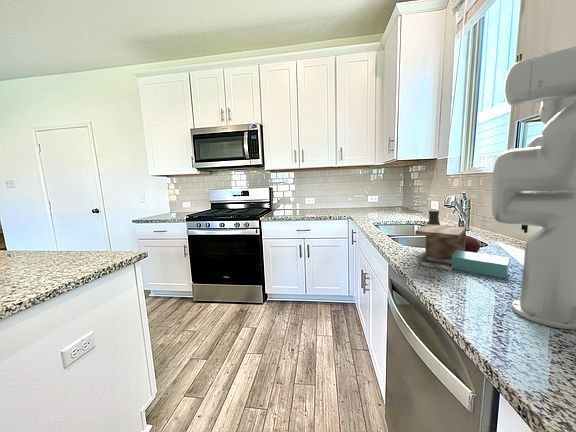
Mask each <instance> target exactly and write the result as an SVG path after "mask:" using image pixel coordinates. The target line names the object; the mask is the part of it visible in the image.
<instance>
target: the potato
mask: <svg viewBox="0 0 576 432" xmlns="http://www.w3.org/2000/svg"><path fill="white" fill-rule="evenodd" d="M480 249H481V245H480V242H479V241H478V240H477V239H476V238H474V237H472V236H470V235H466V240H465V251H466V252H473V253H479V251H480Z"/></svg>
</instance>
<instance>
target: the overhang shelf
mask: <svg viewBox="0 0 576 432" xmlns="http://www.w3.org/2000/svg"><path fill="white" fill-rule="evenodd" d="M414 234H415V236H416V235H417V236H424V237H425V241H426V249H425V251H424V252H423V253H422V254H421V255H420V256H418V265H419V266H423V267H424V266H426V267H429V268H436V269H441V270H447V271H453V267H452V266H450V264H451V265H452V255H453V254H454V252H455V251H456V250H459V251H465V240H466V236H467V226H458V225H457V226H456V225H447V224H445V225H444V224H440V225H433V224H427V223H426V224H425V225H424V226H421V227H420V228H417V229H416V230H415V233H414ZM426 261H431V262H426ZM433 262H439V263H445V264H449V265H443V264H439V263H433Z"/></svg>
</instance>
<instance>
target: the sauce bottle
mask: <svg viewBox="0 0 576 432" xmlns="http://www.w3.org/2000/svg"><path fill="white" fill-rule="evenodd" d="M428 214H429V215H428V221H427V223H426V225H427V224H433V225H441V223H440V221H439V215H440V210H435V209H433V210H428ZM424 243H425V245H424V246H425V247H424V248H425V250H426V240H425V242H424Z"/></svg>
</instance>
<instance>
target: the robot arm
mask: <svg viewBox="0 0 576 432" xmlns="http://www.w3.org/2000/svg"><path fill="white" fill-rule="evenodd" d="M503 93H504V94H503V95H504V98H505V101H506V103H507V104H508V105H509V106H510V107H519V106H524V105H525V106H526V105H530V104H531V105H532V104H536V103H541V104H540V108H539V119H540V121H541V122H542V123H543V125H545V126H544V127H543V129H542V133H541V134H540V135H537V136H535V137H533V138H532V139H531V140H530V141H529V142H528V144H527V147H524V148H514V149H509V150H506V151H504V152H502V153H501V154H499V156H498V157H497V158H496V161H495V163H494V166H493V170H492V171H493V172H492V185H491V186H492V187H491V188H492V189H491V213H492V217H493V219H494V220H495V221H496V222H498V223H501V224H507V225H519V226H520V225H521V228H520V229H521V230H522V231H523V232H524V234H528V229H529V226H535V227H541V229H540V230H538V231H537V232H536V233H534V234H532V235H531V236H530V237H529V238H528V240H527V241H526V243H525V245H524V246H525V248H524V256H523V257H524V259H523V269H522V270H523V271H522V277H521V290H520V299H515V300H514V301H512V302H511V309H512V311H513V312H514V313H515V314H517V315H518V316H521V317H522V318H525V319H526V320H529V321H531V322H534V323H537V324H540V325H543V326H547V327H552V328H556V329H557V328H558V329H563V330H576V45H575V46H572V47H569V48H568V47H567V48H564V49H561V50H556V51H553V52H550V53H545V54H540V55H537V56H533V57H528V58H526V59H522V60H519V61H517V62H515V63H514V64H512V65H511V66H510V68H509V69H508V71H507V74H506V76H505V79H504V85H503Z"/></svg>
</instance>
